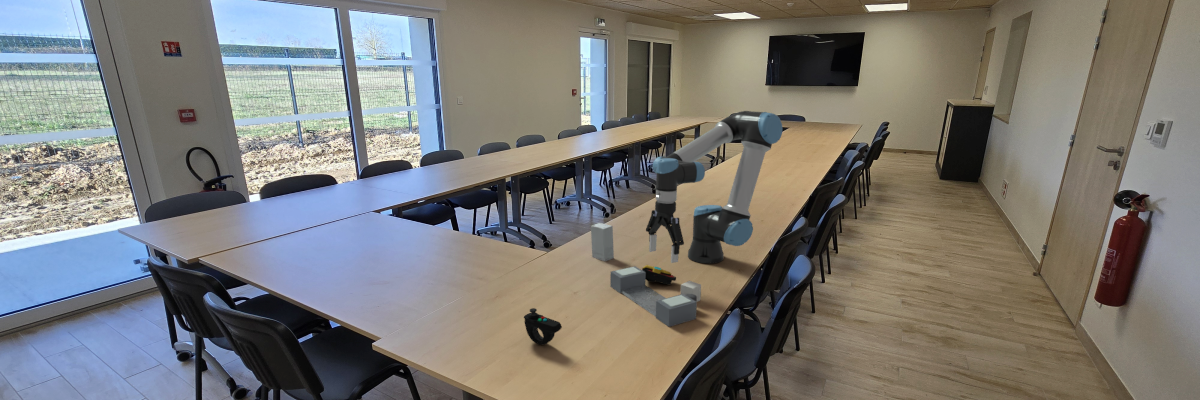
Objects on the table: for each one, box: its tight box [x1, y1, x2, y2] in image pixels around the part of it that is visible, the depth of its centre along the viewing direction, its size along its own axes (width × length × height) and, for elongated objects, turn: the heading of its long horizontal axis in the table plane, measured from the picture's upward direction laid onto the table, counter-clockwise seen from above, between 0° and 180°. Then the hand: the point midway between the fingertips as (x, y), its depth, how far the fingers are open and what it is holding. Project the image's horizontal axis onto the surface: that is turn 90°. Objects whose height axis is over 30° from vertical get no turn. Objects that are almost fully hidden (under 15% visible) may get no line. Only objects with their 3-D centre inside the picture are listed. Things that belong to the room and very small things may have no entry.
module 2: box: [655, 293, 698, 328], centre depth 163 cm, size 11×7×6 cm, turn 119°
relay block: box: [679, 280, 702, 303], centre depth 177 cm, size 5×5×6 cm
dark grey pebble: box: [686, 294, 698, 303], centre depth 169 cm, size 4×4×5 cm
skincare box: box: [590, 222, 615, 262], centre depth 217 cm, size 8×6×15 cm
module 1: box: [609, 265, 646, 294], centre depth 188 cm, size 11×7×6 cm, turn 119°
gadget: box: [641, 264, 677, 285], centre depth 191 cm, size 6×13×6 cm, turn 76°
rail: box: [620, 284, 666, 318], centre depth 176 cm, size 10×32×1 cm, turn 29°
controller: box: [523, 307, 563, 346], centre depth 147 cm, size 4×12×10 cm, turn 57°
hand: (663, 256), depth 188 cm, fingers open, 13 cm apart
